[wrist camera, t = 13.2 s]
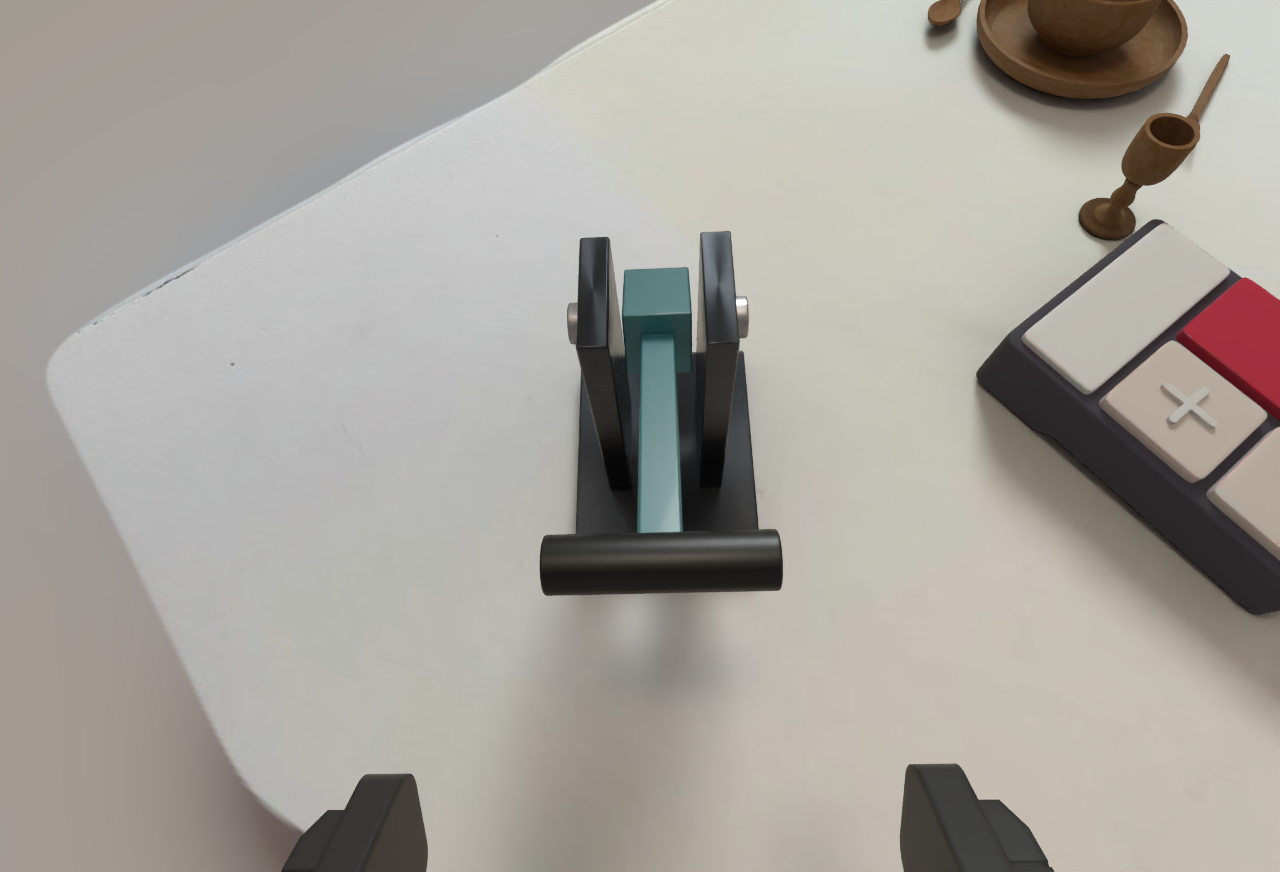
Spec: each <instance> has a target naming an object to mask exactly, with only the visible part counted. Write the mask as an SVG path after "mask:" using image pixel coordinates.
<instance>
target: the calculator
mask: <svg viewBox="0 0 1280 872" xmlns="http://www.w3.org/2000/svg"><path fill="white" fill-rule="evenodd" d="M977 378H978V380H979V381H980V382H981V383H982V384H983V385H984V386H985V387H987V388H988V389H989V390H990V391H991V392H992V393H993V394H994V395H995V396H997V397H998V398H999V399H1000V400H1001V401H1002V402H1003V403H1004V404H1005V405H1007V406H1008V407H1009V408H1010V409H1011V410H1012V411H1013V412H1014V413H1015V414H1017V415H1018V416H1019V417H1020V418H1021V419H1022V420H1023V421H1024V422H1025V423H1027V424H1028V425H1029V426H1030V427H1031V428H1032V429H1034V430H1036V431H1039V432H1041V433H1044V434H1046V435H1049V436H1051V437H1053V438H1055V439H1056V440H1058V441H1059V442H1060V443H1061V444H1062V445H1063V446H1064V447H1066V448H1067V449H1068V450H1069V451H1070V452H1071V453H1072V454H1073V455H1074V456H1076V457H1077V458H1078V459H1079V460H1080V461H1081V462H1082V463H1083V464H1085V465H1086V466H1087V467H1088V468H1089V469H1090V470H1091V471H1092V472H1094V473H1095V474H1096V475H1097V476H1098V477H1099V478H1100V479H1101V480H1102V481H1104V482H1105V483H1106V484H1107V485H1108V486H1109V487H1110V488H1111V489H1113V490H1114V491H1115V492H1116V493H1117V494H1118V495H1119V496H1120V497H1122V498H1123V499H1124V500H1125V501H1126V502H1127V503H1128V504H1129V505H1130V506H1132V507H1133V508H1134V509H1135V510H1136V511H1137V512H1138V513H1139V514H1141V515H1142V516H1143V517H1144V518H1145V519H1146V520H1147V521H1148V522H1150V523H1151V524H1152V525H1153V526H1154V527H1155V528H1156V529H1157V530H1158V531H1160V532H1161V533H1162V534H1163V535H1164V536H1165V537H1166V538H1167V539H1169V540H1170V541H1171V542H1172V543H1173V544H1174V545H1175V546H1176V547H1177V548H1179V549H1180V550H1181V551H1182V552H1183V553H1184V554H1185V555H1186V556H1188V557H1189V558H1190V559H1191V560H1192V561H1193V562H1194V563H1195V564H1197V565H1198V566H1199V567H1200V568H1201V569H1202V570H1203V571H1204V572H1205V573H1207V574H1208V575H1209V576H1210V577H1211V578H1212V579H1213V580H1214V581H1216V582H1217V583H1218V584H1219V585H1220V586H1221V587H1222V588H1223V589H1225V590H1226V591H1227V592H1228V593H1229V594H1230V595H1231V596H1232V597H1233V598H1235V599H1236V600H1237V601H1238V602H1239V603H1240V604H1241V605H1242V606H1244V607H1245V608H1246V609H1247V610H1248V611H1250V612H1251V613H1254V614H1258V615H1260V614H1266V613H1270V612H1275V611H1279V610H1280V300H1279V299H1277V298H1276V297H1274V296H1273V295H1272V294H1270V293H1269V292H1267V291H1266V290H1265V289H1263V288H1262V287H1261V286H1259V285H1258V284H1256V283H1255V282H1253V281H1252V280H1250V279H1248V278H1241V277H1240V276H1239V275H1237V274H1236V273H1235V272H1233V271H1232V270H1230V269H1229V268H1228V267H1226V266H1225V265H1224V264H1222V263H1221V262H1220V261H1218V260H1217V259H1215V258H1214V257H1213V256H1211V255H1210V254H1209V253H1207V252H1206V251H1204V250H1203V249H1202V248H1200V247H1199V246H1198V245H1196V244H1195V243H1193V242H1192V241H1191V240H1189V239H1188V238H1186V237H1185V236H1184V235H1182V234H1181V233H1180V232H1178V231H1177V230H1175V229H1174V228H1173V227H1171V226H1170V225H1168V224H1167V223H1165V222H1164V221H1162V220H1158V219H1155V220H1151V221H1150V222H1148V223H1147V224H1146V225H1144V226H1143V227H1142V228H1140V229H1139V230H1138V231H1137V232H1135V233H1134V234H1133V235H1132V236H1130V237H1129V238H1128V239H1127V240H1125V241H1124V242H1123V243H1122V244H1120V245H1119V246H1118V247H1117V248H1115V249H1114V250H1113V251H1112V252H1110V253H1109V254H1108V255H1107V256H1105V257H1104V258H1103V259H1102V260H1100V261H1099V262H1098V263H1097V264H1095V265H1094V266H1093V267H1092V268H1090V269H1089V270H1088V271H1086V272H1085V273H1084V274H1083V275H1081V276H1080V277H1079V278H1078V279H1076V280H1075V281H1074V282H1073V283H1071V284H1070V285H1069V286H1068V287H1066V288H1065V289H1064V290H1063V291H1061V292H1060V293H1059V294H1058V295H1056V296H1055V297H1054V298H1053V299H1051V300H1050V301H1049V302H1048V303H1046V304H1045V305H1044V306H1043V307H1041V308H1040V309H1039V310H1038V311H1036V312H1035V313H1034V314H1033V315H1031V316H1030V317H1029V318H1027V319H1026V320H1025V321H1024V322H1022V323H1021V324H1020V325H1019V326H1017V327H1016V328H1015V329H1014V330H1012V331H1011V332H1010V333H1009V334H1008V335H1007V336H1006V337H1005V338H1004V340H1003V341H1002V342H1001V343H1000V344H999V346H998V347H997V348H996V349H995V350H994V352H993V353H992V354H991V355H990V356H989V358H988V359H987V360H986V361H985V362H984V363H983V365H982V366H981V367H980V368H979V370H978V371H977Z"/></svg>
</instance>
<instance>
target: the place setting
mask: <svg viewBox="0 0 1280 872" xmlns="http://www.w3.org/2000/svg"><path fill="white" fill-rule="evenodd" d="M960 12H961V4H960V0H940V1H937V2H935V3H934V4H932V5H931V6H930V8H929V11H928V20H929V22H930V23H931V24H934V25H937V26H942V25H945V24H948V23H950V22H952V21H953V20H955V19H956V18H957V17H958V16H959V14H960ZM977 32H978V36H979V40H980V42H981V44H982V46H983V48H984V50H985V52H986V53H987V55H988V56H989V58H990V59H991V60H992V61H993V62H994V63H995V64H996V65H997V66H998V67H999V68H1000V69H1001V70H1002V71H1004V72H1005V73H1006V74H1008V75H1009V76H1011V77H1012V78H1014V79H1015V80H1017V81H1019V82H1021V83H1023V84H1024V85H1027V86H1029V87H1031V88H1034V89H1036V90H1039V91H1042V92H1045V93H1049V94H1053V95H1057V96H1063V97H1069V98H1080V99H1099V98H1108V97H1115V96H1119V95H1124V94H1127V93H1130V92H1133V91H1137V90H1139V89H1141V88H1143V87H1145V86H1147V85H1150V84H1151V83H1153V82H1154V81H1156V80H1157V79H1159V78H1160V77H1162V76H1163V75H1164V74H1165V73H1166V72H1167V71H1168V70H1169V69H1170V68H1171V67H1172V66H1173V65H1174V64H1175V62H1176V61H1177V60H1178V58H1179V57H1180V56H1181V54H1182V53H1183V50H1184V48H1185V46H1186V42H1187V37H1188V32H1187V25H1186V21H1185V18H1184V16H1183V14H1182V12H1181V10H1180V9H1179V7H1178V6H1177V5H1176V3H1175V2H1174V1H1173V0H981V2H980V5H979V8H978V14H977ZM1229 58H1230V55H1228V54H1224V56H1223V57H1222V58H1221V59H1220V61H1219V62H1218V64H1217V66H1216V67H1215V69H1214V71H1213V72H1212V74H1211V76H1210V78H1209V80H1208V82H1207V83H1206V85H1205V87H1204V89H1203V91H1202V93H1201V95H1200V97H1199V99H1198V101H1197V103H1196V105H1195V106H1194V108H1193V110H1192V112H1191V113H1190V115H1189V116H1188V117H1186V118H1185V117H1183V116H1180V115H1177V114H1172V113H1160V114H1156V115H1153V116H1151V117H1150V118H1149V119H1148V120H1147V121H1146V122H1145V123H1144V125H1143V126H1142V127H1141V129H1140V130H1139V132H1138V133H1137V134H1136V136H1135V138H1134V139H1133V141H1132V142H1131V144H1130V145H1129V147H1128V149H1127V150H1126V152H1125V155H1124V157H1123V160H1122V172H1123V174H1124V176H1125V177H1126V179H1125V182H1124V184H1123V185H1122V186H1121V187H1119V188H1118V189H1116V190H1115V191H1114V192H1113V193H1112V195H1111V198H1110V199H1109V198H1096V199H1092V200H1090V201H1088V202H1086V203H1085V204H1084V205H1083V206H1082V208H1081V210H1080V213H1079V218H1080V221H1081V223H1082V225H1083V226H1084V228H1085V229H1086V230H1087V231H1089V232H1090V233H1092V234H1093V235H1095V236H1098V237H1101V238H1104V239H1120V238H1123V237H1125V236H1127V235H1129V234H1130V233H1131V232H1132V231H1133V230H1134V228H1135V224H1136V220H1135V216H1134V214H1133V212H1132V211H1131V210H1130V209H1129V208H1128V206H1129V205H1131V204H1132V203H1133V201H1134V199H1135V194H1136V191H1137V190H1138V189H1139V188H1141V187H1142V186H1143V185H1145V186H1148V185H1154V184H1157V183H1159V182H1161V181H1163V180H1165V179H1166V178H1167V177H1169V176H1170V175H1171V174H1172V173H1173V172H1174V171H1175V170H1176V169H1177V168H1178V167H1179V165H1180V164H1181V163H1182V162H1183V161H1184V160H1185V158H1186V157H1187V156H1188V155H1189V153H1190V152H1191V151H1192V150H1193V148H1194V147H1195V145H1196V144H1197V142H1198V141H1199V139H1200V132H1199V131H1200V125H1199V123H1198V118H1199V116H1200V114H1201V112H1202V110H1203V108H1204V107H1205V105H1206V103H1207V101H1208V99H1209V98H1210V96H1211V94H1212V92H1213V90H1214V89H1215V87H1216V85H1217V83H1218V81H1219V79H1220V77H1221V75H1222V74H1223V72H1224V70H1225V67H1226V65H1227V63H1228V61H1229Z"/></svg>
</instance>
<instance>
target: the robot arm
mask: <svg viewBox="0 0 1280 872" xmlns="http://www.w3.org/2000/svg"><path fill="white" fill-rule="evenodd" d="M900 850H901V858H902V864H903V869H904V872H1054V870H1053V869H1052V867H1049V865H1048V860H1047V858H1046V857H1045V855H1044V853H1043V851H1042V850H1041V848H1040V846H1039V844H1038V843H1037V841H1036V839H1035V837H1034V836H1033V834H1032V832H1031V831H1030V829H1029V827H1028V826H1027V825H1025V824H1024V823H1023V822H1022V821H1021V820H1020V819H1019V818H1018V817H1017V816H1016V815H1015V814H1014V813H1013V812H1012V811H1011V810H1009V809H1008V808H1007V807H1006V806H1005V805H1004V804H1003V803H1002V802H1001V801H1000V800H978V798H977V796H976V794H975V792H974V790H973V789H972V787H971V785H970V783H969V781H968V779H967V777H966V775H965V773H964V771H963V770H962V768H961V767H960V766H959V765H958V764H910V765H908V767H907V769H906V775H905V785H904V796H903V807H902V818H901V829H900ZM427 858H428V847H427V839H426V834H425V828H424V823H423V818H422V812H421V807H420V801H419V796H418V791H417V785H416V781H415V778H414V776H413V775H412V774H367V775H364V776H363V777H362V778H361V780H360V781H359V783H358V784H357V786H356V788H355V790H354V792H353V794H352V796H351V798H350V800H349V802H348V804H347V806H346V808H345V810H327V811H326V812H325V813H324V814H323V815H322V816H321V817H320V818H319V819H318V820H317V821H316V822H315V823H314V824H313V825H312V826H311V827H310V828H309V829H308V830H307V831H306V832H305V833H304V834H303V835H302V836H301V837H300V839H299V840H298V842H297V844H296V846H295V847H294V849H293V851H292V852H291V854H290V856H289V858H288V860H287V861H286V863H285V865H284V867H283V869H282V872H426V869H427Z"/></svg>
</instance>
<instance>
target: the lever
mask: <svg viewBox="0 0 1280 872" xmlns="http://www.w3.org/2000/svg"><path fill="white" fill-rule="evenodd" d="M622 323H623V335H624V346H625V358H626V370H627V374H640V398H639V458H638V519H637V533H607V534H567V535H546V536H544V538H543V541H542V544H541V551H540V580H541V587H542V590H543V593H544V594H545V595H547V596H553V595H600V594H646V593H693V592H739V591H778V590H780V589H781V586H782V580H783V558H782V547H781V541H780V536H779V533H778V531H777V530H775V529H765V530H725V531H686V532H683V524H682V500H681V476H680V451H679V427H678V403H677V378H676V373H678V372H691V371H692V312H691V298H690V284H689V270H688V268H687V267H682V268H658V269H634V270H625V271H624V285H623V306H622Z"/></svg>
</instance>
